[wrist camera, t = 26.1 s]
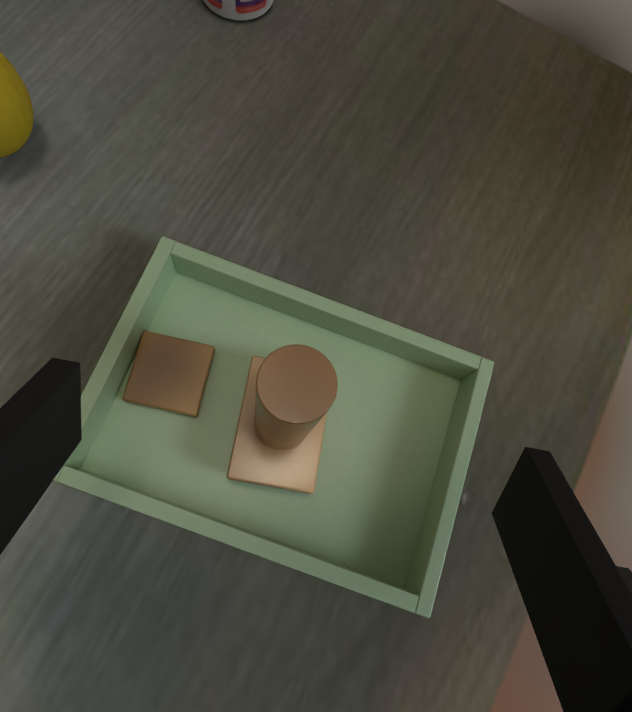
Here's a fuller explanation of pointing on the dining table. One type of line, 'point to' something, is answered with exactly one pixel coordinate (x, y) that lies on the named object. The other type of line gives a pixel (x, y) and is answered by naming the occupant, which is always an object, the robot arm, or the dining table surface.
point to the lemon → (13, 109)
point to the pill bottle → (239, 8)
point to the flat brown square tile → (169, 374)
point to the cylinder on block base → (283, 419)
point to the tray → (340, 440)
